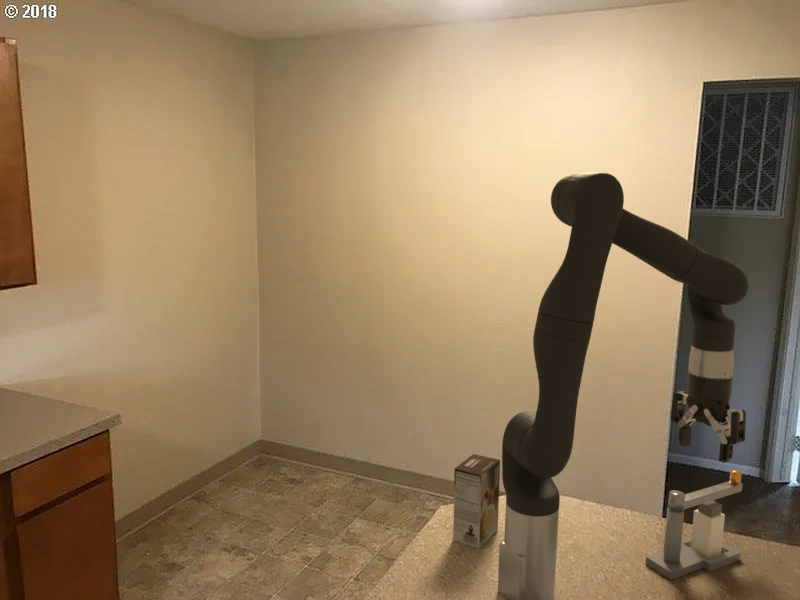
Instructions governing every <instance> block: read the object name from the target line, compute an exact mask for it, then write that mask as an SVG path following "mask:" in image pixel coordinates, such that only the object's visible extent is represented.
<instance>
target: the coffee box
mask: <svg viewBox="0 0 800 600" xmlns="http://www.w3.org/2000/svg"><path fill="white" fill-rule="evenodd" d="M500 466H501V459H499V458H493V457H489V456H485V455H481V454H475V453H473V454H472V455H470V456H469V457H468V458H466V459H465V460H463V462H461V463H459V464H458V465H457V466H456V467H455V468H454V475H453V477H454V478H453V481H454V484H453V485H454V486H453V532H452V533H453V535H452V537H453V538H452V540H453V541H454V542H457V543H460V544H464V545H467V546H470V547H473V548H477V549H479V550H480V549H481V548H482V547H483V546H484V545H485V544H486V543H487V542H488V541H489V540H490V539H491V538H492V537H493V535H494V534H495V533H496V532H497V531H498V529H499V507H500V506H499V503H500V502H499V500H500V479H501V478H500V472H501V469H500V468H501V467H500Z"/></svg>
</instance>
